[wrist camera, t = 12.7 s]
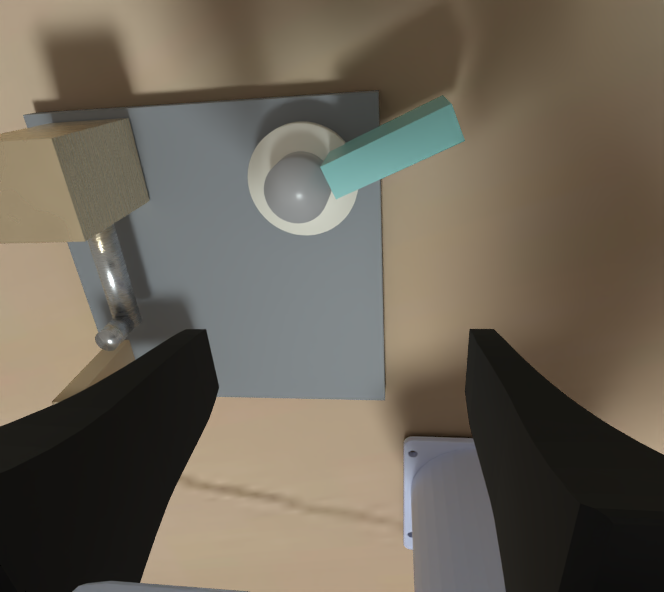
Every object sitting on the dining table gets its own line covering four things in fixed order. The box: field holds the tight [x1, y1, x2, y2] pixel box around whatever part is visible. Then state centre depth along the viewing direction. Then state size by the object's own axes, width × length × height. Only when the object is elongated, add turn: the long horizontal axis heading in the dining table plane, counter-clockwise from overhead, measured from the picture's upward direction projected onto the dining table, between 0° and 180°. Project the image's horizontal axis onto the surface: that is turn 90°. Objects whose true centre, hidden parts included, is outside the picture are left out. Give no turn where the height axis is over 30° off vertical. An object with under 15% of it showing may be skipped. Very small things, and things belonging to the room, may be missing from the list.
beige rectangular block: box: [0, 118, 149, 351], centre depth 20 cm, size 9×4×5 cm, turn 4°
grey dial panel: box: [23, 90, 385, 405], centre depth 21 cm, size 15×15×6 cm
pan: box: [248, 95, 465, 235], centre depth 17 cm, size 8×4×3 cm, turn 116°
